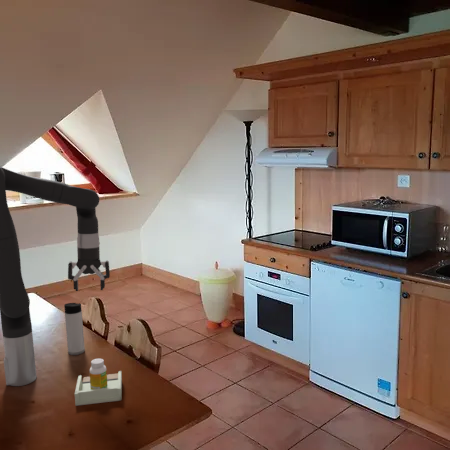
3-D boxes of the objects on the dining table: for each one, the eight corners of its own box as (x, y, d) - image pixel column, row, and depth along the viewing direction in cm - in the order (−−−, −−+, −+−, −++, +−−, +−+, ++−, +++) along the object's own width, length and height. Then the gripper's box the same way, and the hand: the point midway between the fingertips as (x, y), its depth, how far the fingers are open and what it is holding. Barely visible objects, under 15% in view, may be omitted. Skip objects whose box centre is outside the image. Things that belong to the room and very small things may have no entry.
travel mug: (64, 354, 187) (59, 305, 183) (75, 347, 193) (71, 299, 189) (77, 356, 184) (73, 306, 181) (88, 349, 190) (84, 301, 187)
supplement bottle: (103, 393, 155) (101, 365, 153) (87, 392, 156) (85, 364, 154) (110, 385, 160) (108, 357, 158) (95, 384, 161) (93, 356, 159)
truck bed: (75, 405, 150) (74, 393, 149) (80, 379, 167) (80, 368, 166) (121, 400, 153) (120, 388, 152) (122, 375, 169) (121, 364, 168)
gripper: (66, 247, 165) (67, 293, 167) (108, 246, 168) (109, 292, 170) (68, 244, 172) (69, 288, 175) (109, 243, 175) (110, 286, 177)
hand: (89, 290), depth 172 cm, fingers open, 8 cm apart
